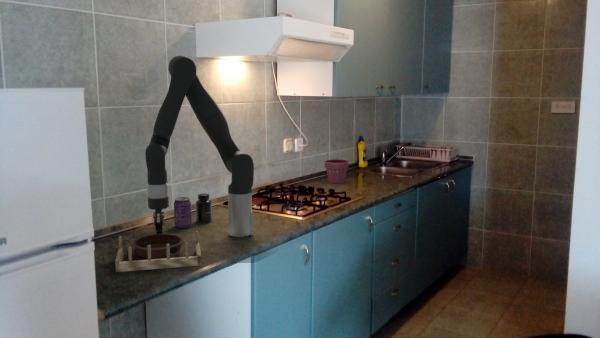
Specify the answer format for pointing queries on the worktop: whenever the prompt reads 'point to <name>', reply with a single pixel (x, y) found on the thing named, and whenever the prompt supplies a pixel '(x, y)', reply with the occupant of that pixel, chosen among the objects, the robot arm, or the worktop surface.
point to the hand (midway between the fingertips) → (159, 239)
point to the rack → (157, 263)
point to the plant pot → (336, 170)
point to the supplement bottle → (203, 209)
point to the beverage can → (182, 212)
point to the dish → (158, 245)
